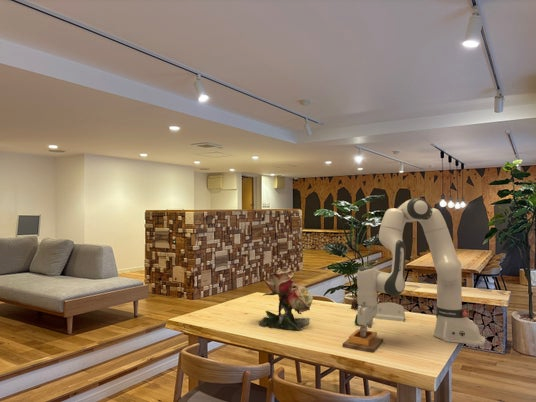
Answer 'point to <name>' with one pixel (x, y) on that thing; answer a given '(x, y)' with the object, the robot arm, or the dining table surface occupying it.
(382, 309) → the hinge
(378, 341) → the keeper board
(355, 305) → the pottery mug
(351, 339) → the small wooden tray
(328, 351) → the dining table surface
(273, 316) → the rose bouquet
